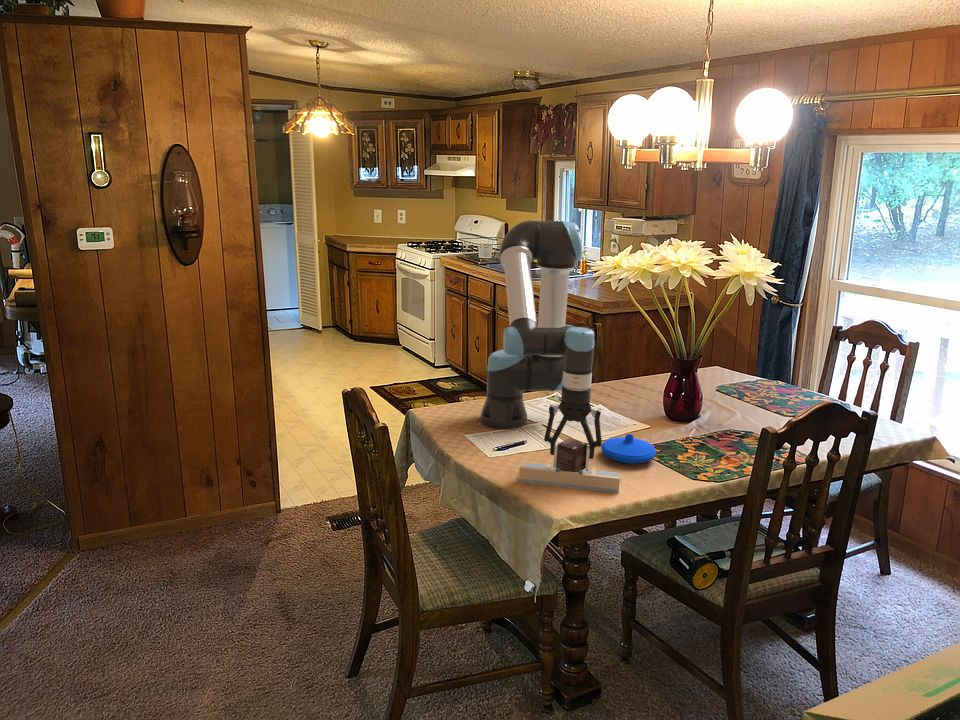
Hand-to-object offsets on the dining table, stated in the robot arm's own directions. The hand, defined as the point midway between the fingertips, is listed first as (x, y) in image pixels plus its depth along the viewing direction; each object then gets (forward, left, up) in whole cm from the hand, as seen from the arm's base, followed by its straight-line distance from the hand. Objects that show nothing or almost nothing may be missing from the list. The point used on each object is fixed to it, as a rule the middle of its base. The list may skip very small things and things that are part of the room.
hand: (571, 467), depth 202 cm
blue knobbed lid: (-17, +15, -3) cm, 23 cm away
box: (0, 0, -1) cm, 1 cm away
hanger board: (+2, 0, -3) cm, 3 cm away
